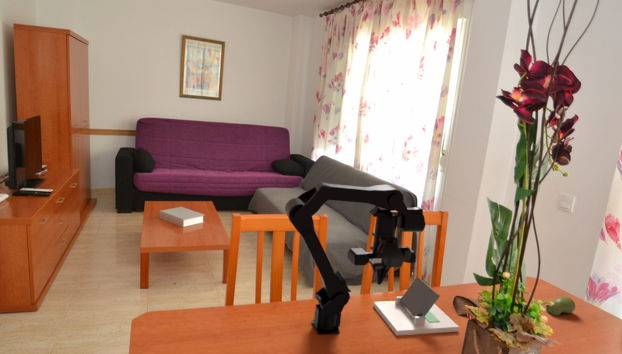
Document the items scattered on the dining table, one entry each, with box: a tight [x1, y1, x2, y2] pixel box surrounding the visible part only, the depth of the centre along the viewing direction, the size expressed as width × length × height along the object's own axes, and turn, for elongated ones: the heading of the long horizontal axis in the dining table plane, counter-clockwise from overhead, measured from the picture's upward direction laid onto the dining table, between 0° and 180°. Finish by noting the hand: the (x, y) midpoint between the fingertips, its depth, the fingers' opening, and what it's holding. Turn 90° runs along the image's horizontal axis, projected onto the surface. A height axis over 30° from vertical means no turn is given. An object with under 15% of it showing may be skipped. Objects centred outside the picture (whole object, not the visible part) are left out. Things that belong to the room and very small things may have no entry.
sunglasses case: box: [452, 295, 480, 318], centre depth 132 cm, size 18×7×7 cm, turn 79°
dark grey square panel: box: [400, 276, 441, 318], centre depth 124 cm, size 2×10×10 cm
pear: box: [545, 296, 576, 316], centre depth 139 cm, size 6×5×10 cm
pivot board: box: [372, 295, 460, 337], centre depth 125 cm, size 20×16×4 cm
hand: (378, 283), depth 116 cm, fingers closed
